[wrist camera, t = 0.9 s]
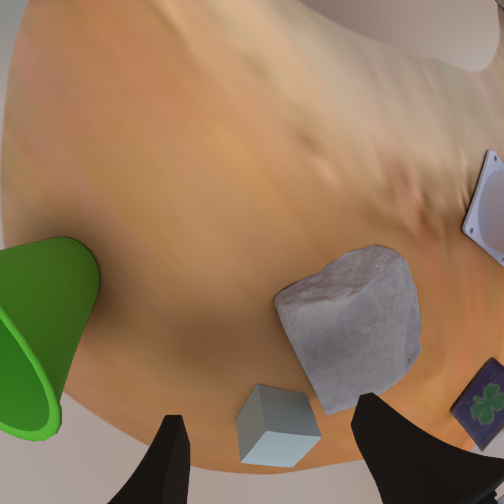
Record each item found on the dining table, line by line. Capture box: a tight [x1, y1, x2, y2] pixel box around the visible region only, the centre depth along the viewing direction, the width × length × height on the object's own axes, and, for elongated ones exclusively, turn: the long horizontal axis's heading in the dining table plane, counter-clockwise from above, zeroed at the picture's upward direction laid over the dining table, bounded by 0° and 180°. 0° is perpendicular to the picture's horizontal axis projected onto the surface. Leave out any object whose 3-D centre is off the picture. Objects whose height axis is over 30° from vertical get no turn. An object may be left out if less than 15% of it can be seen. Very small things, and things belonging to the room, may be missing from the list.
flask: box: [450, 357, 504, 452], centre depth 22 cm, size 9×3×11 cm, turn 151°
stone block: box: [274, 245, 421, 415], centre depth 20 cm, size 12×5×10 cm
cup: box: [0, 237, 100, 441], centre depth 12 cm, size 9×9×11 cm
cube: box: [236, 384, 322, 467], centre depth 20 cm, size 4×4×5 cm
